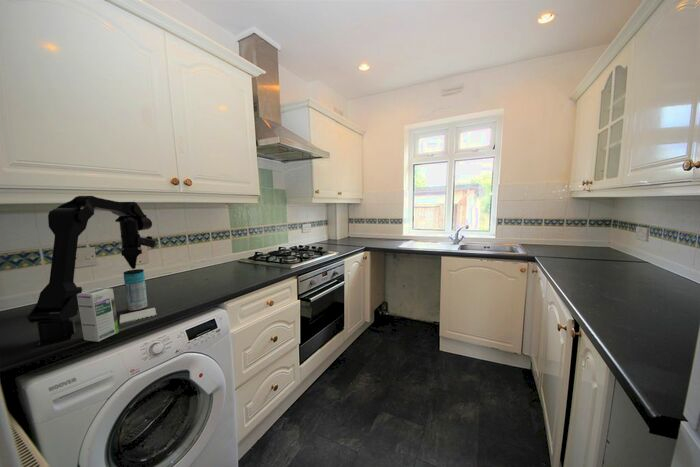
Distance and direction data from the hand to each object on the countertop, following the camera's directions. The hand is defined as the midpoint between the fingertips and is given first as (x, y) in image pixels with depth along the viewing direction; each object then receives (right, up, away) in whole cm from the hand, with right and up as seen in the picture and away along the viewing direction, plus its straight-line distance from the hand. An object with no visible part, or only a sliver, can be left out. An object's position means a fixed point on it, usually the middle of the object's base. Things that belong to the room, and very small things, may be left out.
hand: (133, 268), depth 109 cm
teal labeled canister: (+10, -14, -11) cm, 21 cm away
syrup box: (+16, -17, -31) cm, 38 cm away
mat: (+15, -15, -16) cm, 27 cm away
